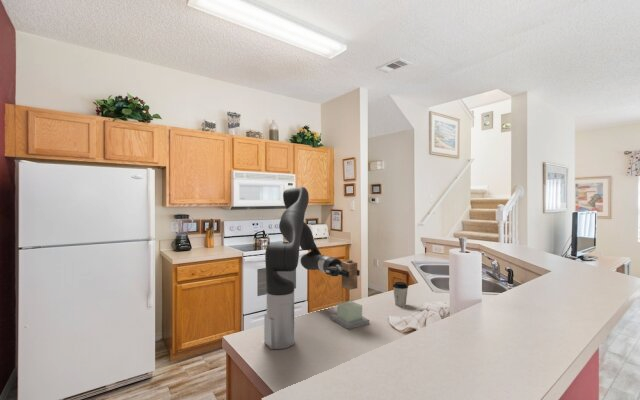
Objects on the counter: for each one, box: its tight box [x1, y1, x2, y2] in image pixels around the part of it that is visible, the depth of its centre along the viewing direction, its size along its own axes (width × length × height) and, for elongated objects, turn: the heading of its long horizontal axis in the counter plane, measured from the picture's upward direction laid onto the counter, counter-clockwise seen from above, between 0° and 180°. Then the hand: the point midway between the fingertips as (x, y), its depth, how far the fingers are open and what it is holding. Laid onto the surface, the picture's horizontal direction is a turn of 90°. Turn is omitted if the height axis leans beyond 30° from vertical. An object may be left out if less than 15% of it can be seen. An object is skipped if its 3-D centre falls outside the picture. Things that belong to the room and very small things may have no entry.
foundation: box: [330, 300, 370, 330], centre depth 121 cm, size 10×12×6 cm
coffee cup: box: [392, 281, 409, 308], centre depth 139 cm, size 7×7×10 cm
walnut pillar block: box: [341, 259, 358, 291], centre depth 121 cm, size 4×4×11 cm
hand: (353, 273), depth 119 cm, fingers closed on walnut pillar block, 4 cm apart
